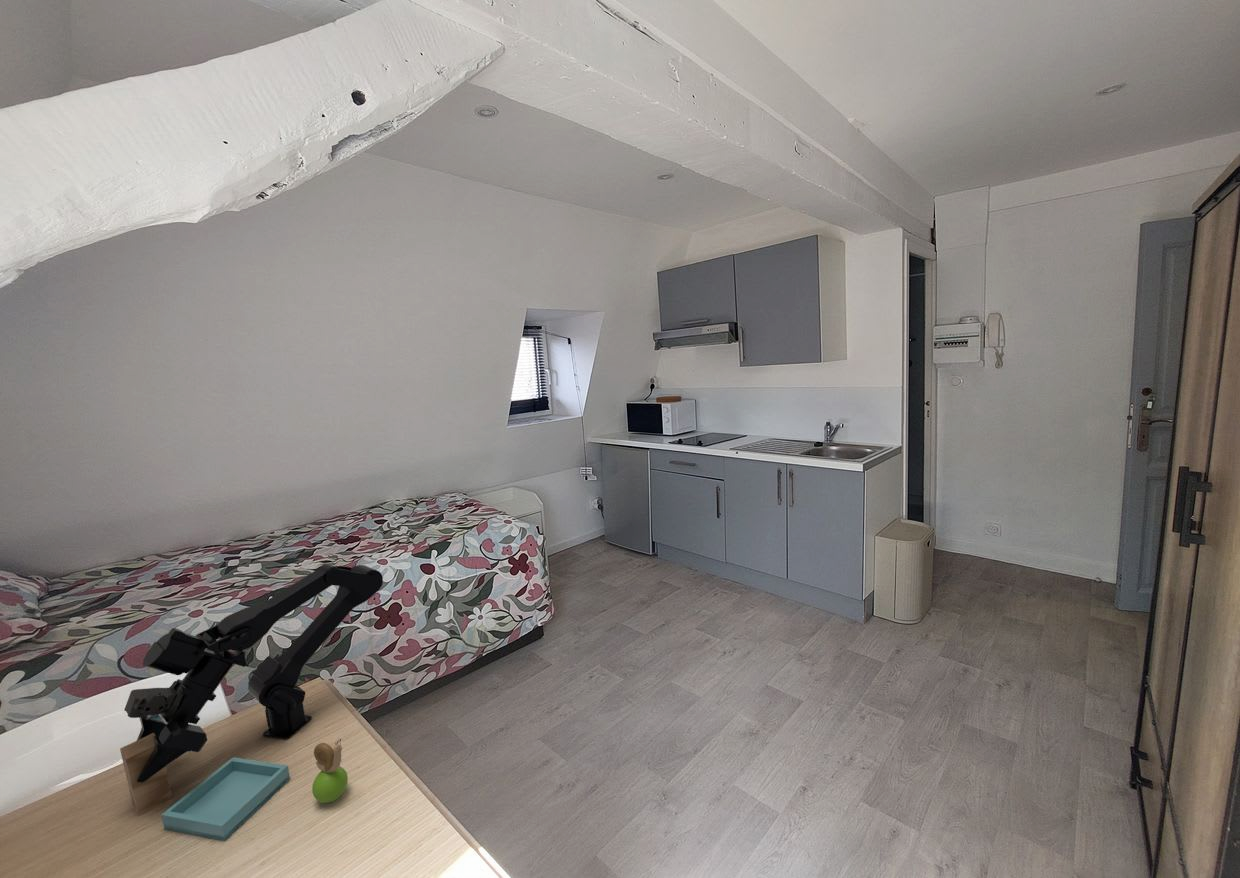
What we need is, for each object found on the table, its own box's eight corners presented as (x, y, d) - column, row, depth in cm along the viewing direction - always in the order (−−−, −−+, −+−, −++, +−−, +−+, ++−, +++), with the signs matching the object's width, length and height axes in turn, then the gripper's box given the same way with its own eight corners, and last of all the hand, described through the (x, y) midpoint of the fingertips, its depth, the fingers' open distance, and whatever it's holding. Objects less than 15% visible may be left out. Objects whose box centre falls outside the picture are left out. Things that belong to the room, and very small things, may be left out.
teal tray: (290, 778, 95) (287, 765, 95) (224, 841, 83) (221, 826, 83) (235, 770, 98) (232, 757, 98) (164, 829, 86) (161, 814, 86)
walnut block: (165, 786, 95) (153, 732, 93) (172, 797, 92) (160, 742, 91) (132, 803, 92) (119, 748, 90) (138, 816, 89) (125, 759, 87)
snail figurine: (335, 815, 87) (325, 752, 85) (307, 806, 89) (296, 744, 87) (361, 789, 92) (351, 729, 90) (333, 781, 94) (324, 722, 92)
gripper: (142, 653, 97) (71, 742, 90) (170, 687, 86) (92, 791, 79) (201, 670, 105) (140, 754, 98) (234, 703, 93) (167, 800, 86)
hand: (134, 773), depth 90 cm, fingers open, 7 cm apart
